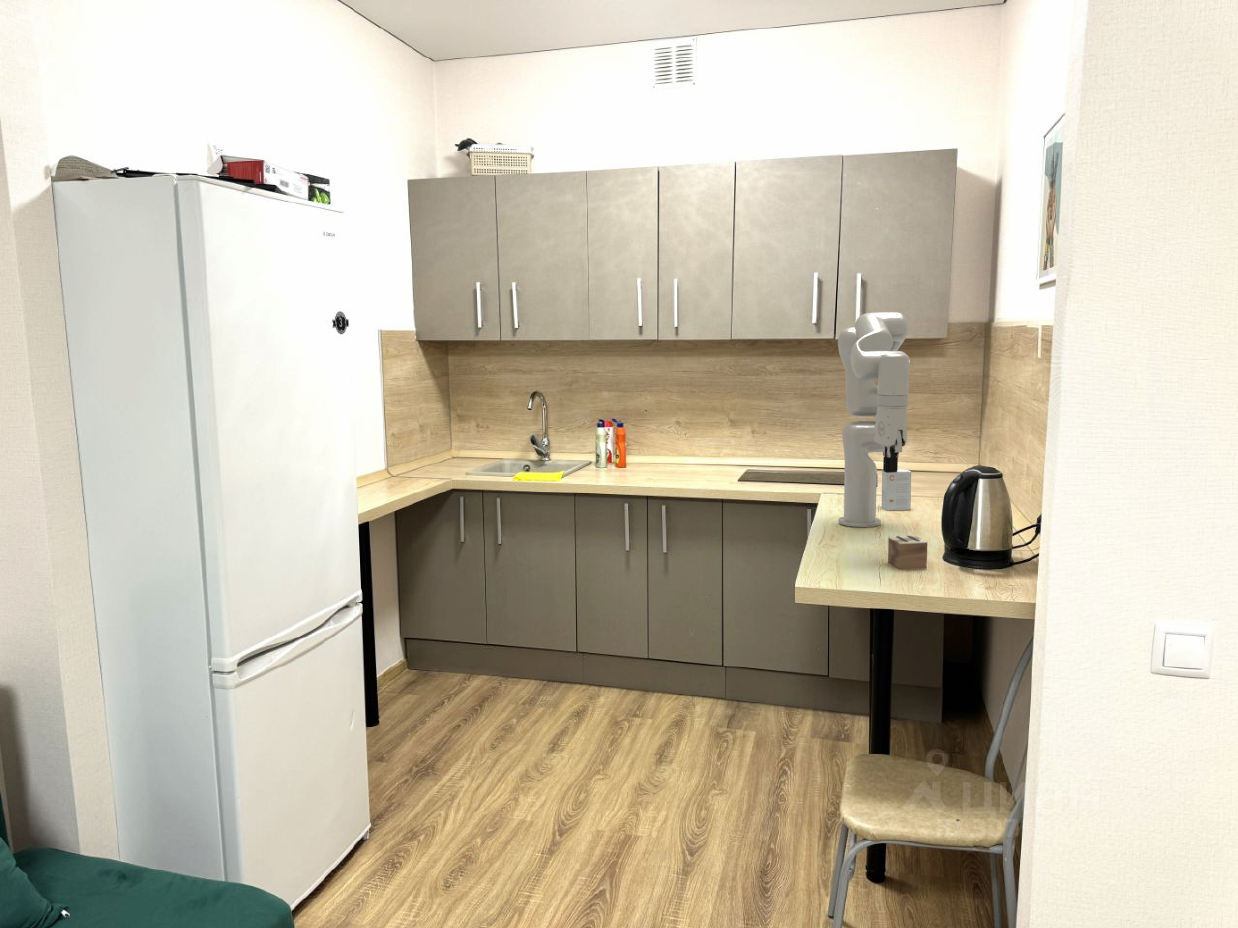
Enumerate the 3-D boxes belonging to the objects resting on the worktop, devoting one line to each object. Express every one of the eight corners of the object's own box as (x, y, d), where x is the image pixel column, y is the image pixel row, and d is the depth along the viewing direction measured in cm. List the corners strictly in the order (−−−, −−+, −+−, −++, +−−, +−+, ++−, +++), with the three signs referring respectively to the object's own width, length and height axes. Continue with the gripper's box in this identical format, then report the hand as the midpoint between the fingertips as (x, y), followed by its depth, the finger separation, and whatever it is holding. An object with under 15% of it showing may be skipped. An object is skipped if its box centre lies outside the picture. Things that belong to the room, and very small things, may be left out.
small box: (904, 506, 297) (905, 468, 295) (910, 510, 291) (911, 471, 289) (880, 507, 297) (881, 469, 295) (886, 510, 291) (887, 471, 289)
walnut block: (900, 541, 215) (899, 569, 216) (927, 540, 216) (926, 568, 217) (888, 535, 222) (887, 562, 223) (915, 534, 223) (914, 561, 224)
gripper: (866, 399, 232) (864, 467, 236) (891, 405, 218) (888, 477, 221) (894, 398, 233) (891, 466, 236) (919, 404, 219) (917, 476, 222)
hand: (890, 471), depth 229 cm, fingers closed
